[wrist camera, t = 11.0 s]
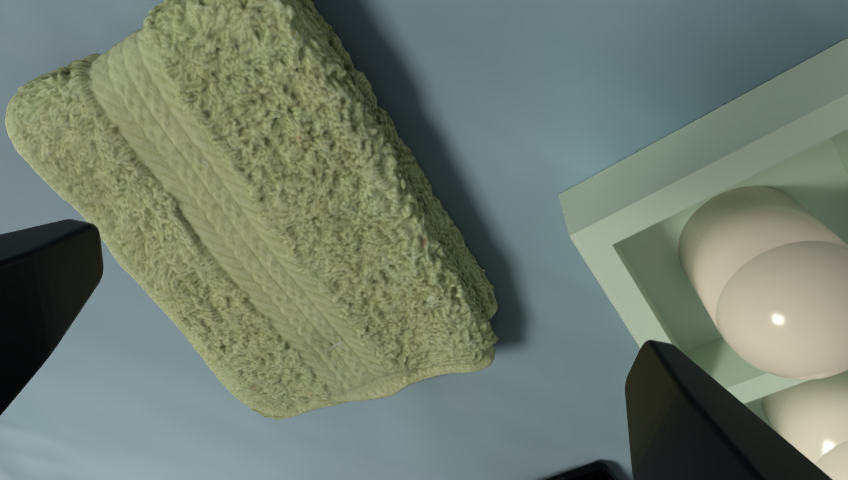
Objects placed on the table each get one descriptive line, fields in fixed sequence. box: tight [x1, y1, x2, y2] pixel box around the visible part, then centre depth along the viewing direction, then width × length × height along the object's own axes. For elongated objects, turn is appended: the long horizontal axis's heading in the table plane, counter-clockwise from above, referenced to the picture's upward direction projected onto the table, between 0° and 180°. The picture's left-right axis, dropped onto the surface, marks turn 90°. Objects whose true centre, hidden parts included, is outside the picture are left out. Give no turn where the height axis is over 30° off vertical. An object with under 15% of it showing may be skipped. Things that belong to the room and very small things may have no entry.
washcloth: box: [5, 0, 498, 420], centre depth 22 cm, size 13×18×3 cm
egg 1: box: [678, 186, 848, 380], centre depth 18 cm, size 4×4×6 cm
